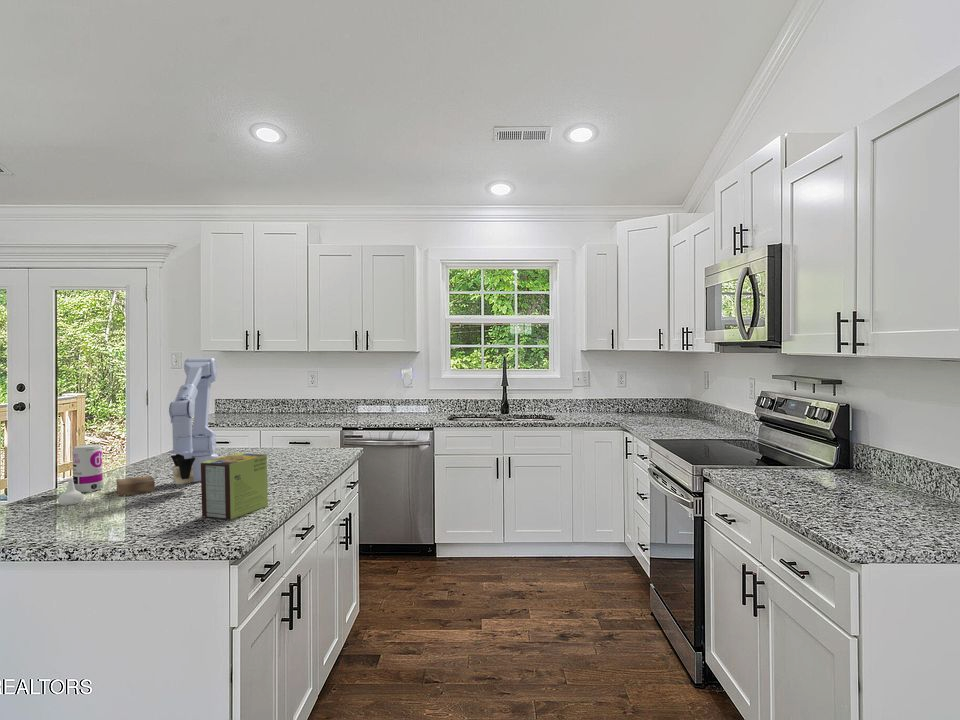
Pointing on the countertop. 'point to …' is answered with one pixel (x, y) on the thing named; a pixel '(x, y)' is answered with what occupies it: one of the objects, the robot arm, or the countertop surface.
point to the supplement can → (87, 468)
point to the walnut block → (135, 485)
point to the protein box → (234, 485)
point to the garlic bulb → (70, 495)
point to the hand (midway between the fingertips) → (183, 477)
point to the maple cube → (177, 476)
